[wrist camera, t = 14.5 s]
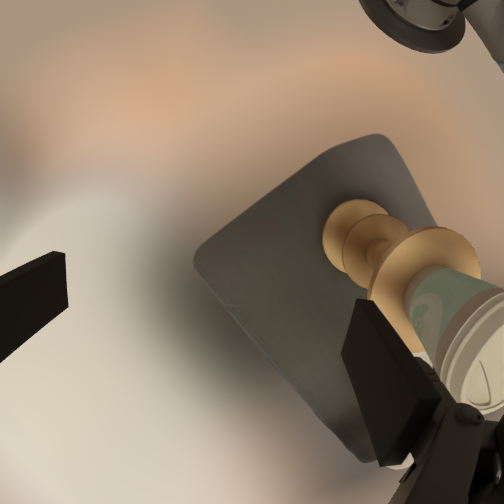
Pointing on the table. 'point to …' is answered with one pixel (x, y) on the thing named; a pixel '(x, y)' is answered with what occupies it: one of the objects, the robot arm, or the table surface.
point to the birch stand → (359, 238)
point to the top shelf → (409, 264)
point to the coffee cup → (460, 333)
